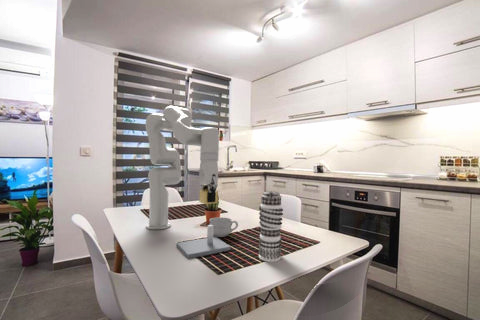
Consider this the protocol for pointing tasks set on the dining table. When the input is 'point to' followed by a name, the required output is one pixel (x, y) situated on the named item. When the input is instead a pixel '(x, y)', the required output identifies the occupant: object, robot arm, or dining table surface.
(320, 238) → the dining table surface
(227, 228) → the teacup
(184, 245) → the board
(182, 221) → the dining table surface
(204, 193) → the brass collar
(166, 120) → the robot arm
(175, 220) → the dining table surface
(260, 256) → the leaning tower model
